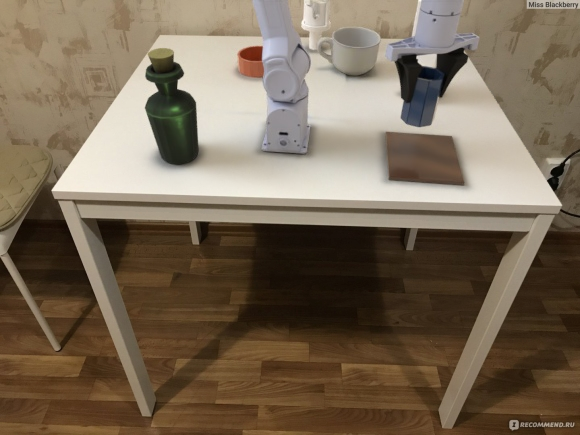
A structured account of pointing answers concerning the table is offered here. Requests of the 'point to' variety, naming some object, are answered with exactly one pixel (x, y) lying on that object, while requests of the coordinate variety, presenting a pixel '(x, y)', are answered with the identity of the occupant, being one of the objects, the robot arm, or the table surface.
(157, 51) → the potion bottle
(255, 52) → the orange ramekin
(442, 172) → the walnut board
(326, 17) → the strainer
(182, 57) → the table surface
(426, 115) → the blue cup
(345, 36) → the teacup
